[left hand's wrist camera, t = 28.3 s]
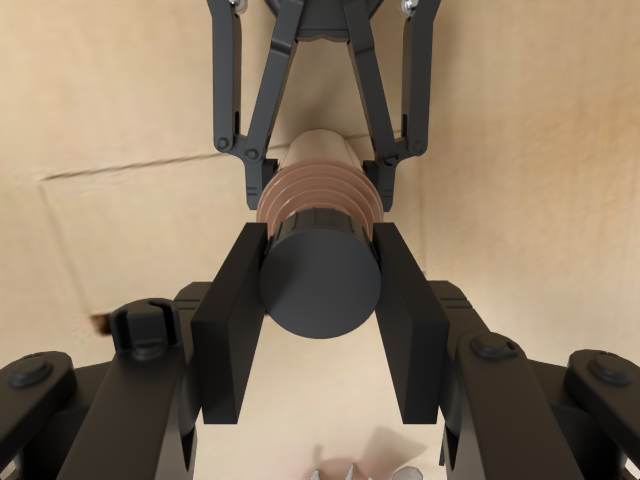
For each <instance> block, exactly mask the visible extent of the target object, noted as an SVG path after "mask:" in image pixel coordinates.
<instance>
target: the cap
mask: <svg viewBox="0 0 640 480" xmlns="http://www.w3.org/2000/svg"><path fill="white" fill-rule="evenodd" d="M263 256H264V259H263V262H262V265H261V268H260V272H259V284H260V298H261V301H262V304H263V306H264V308H265V309H266V311H267V312H268V314H269V315H270V317H271V318H272V319H273V320H274V321H275V322H276V323H277V324H279V325H280V326H281V327H283V328H284V329H286V330H287V331H289V332H291V333H293V334H296V335H299V336H302V337H306V338H313V339H327V338H334V337H338V336H341V335H344V334H347V333H349V332H351V331H353V330H354V329H356V328H358V327H359V326H360V325H362V324H363V323H364V322H365V321H366V320H367V319H368V318H369V317H370V315H371V314H372V313H373V311H374V310H375V308H376V306H377V304H378V302H379V299H380V288H381V271H380V268H379V265H378V262H379V259H378V256H377V253H376V250H375V247H374V245H373V242H372V241H370V239H369V237H368V235H367V233H366V230H365V227H364V226H363V227H362V226H361V225H360V224H359V223H358V222H357V221H356V220H354V219H353V218H352V216H351V215H350V214H349V215H347V214H345V213H343V212H340V211H337V210H334V208H332V209H329V208H315V207H313V208H311V209H306V210H303V211H300V212H297V211H296V212H295V214H293V215H292V216H290V217H288V218H287V219H286V220H284V221H283V222H282V221H281V222H280V224H279V226H278V228H277V229H276V230H275V232H274V233H273V235H272V236H271V235H270V237H269V240H268V243H267V246H266V249H265V252H264V255H263Z"/></svg>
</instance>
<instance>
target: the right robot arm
mask: <svg viewBox="0 0 640 480" xmlns="http://www.w3.org/2000/svg"><path fill="white" fill-rule="evenodd" d="M264 1H265V3H266V4H267V6H268V7H269V9H270V10H271V12H272V13H273V15H274V17H275V18H276V24H275V28H274V31H273V35H272V39H271V47H270V52H269V55H268V59H267V63H266V67H265V71H264V74H263V78H262V82H261V86H260V90H259V94H258V97H257V101H256V105H255V109H254V113H253V116H252V120H251V124H250V128H249V132H248V135H247V136H244V135H241V134H240V125H241V48H242V31H241V21H240V16H239V15H241V14H243V13H245V11H246V10H247V7H248V0H207V3H208V6H209V9H210V12H211V15H212V30H213V126H214V146H215V148H216V149H217V150H218V151H219V152H222V153H229V154H232V155H234V156H237V157H239V158H240V159H241V160H242V161H243V163H244V165H245V175H246V194H247V195H246V196H247V204H248V206H249V208H250V210H257V207H258V203H259V200H260V197H261V195H262V193H263V191H264V189H265V187H266V185H267V184H268V182H269V180H270V179H271V177H272V175H273V173H274V172H275V170H276V168H277V167H278V159H266V153H267V151H268V150H267V149H268V145H269V142H270V138H271V135H272V131H273V128H274V124H275V121H276V117H277V114H278V110H279V107H280V103H281V99H282V96H283V92H284V89H285V85H286V82H287V78H288V75H289V71H290V68H291V64H292V61H293V58H294V55H295V52H296V49H297V46H298V42H299V41H303V42H310V41H314V40H318V39H321V38H324V39H327V40H330V41H333V42H346V43H347V48H348V52H349V55H350V58H351V61H352V65H353V69H354V73H355V77H356V81H357V85H358V89H359V93H360V97H361V101H362V105H363V110H364V114H365V118H366V122H367V126H368V130H369V134H370V138H371V142H372V146H373V150H374V154H375V161H368V160H363V168H364V170H365V171H366V173H367V175H368V177H369V178H370V180H371V182H372V183H373V185H374V187H375V189H376V190H377V192H378V195H379V197H380V200H381V203H382V207H383V212H389V211H390V209H391V207H392V203H393V190H394V179H395V169H396V166H397V164H398V163H399V162H400V161H402V160H404V159H406V158H409V157H412V156H420V155H422V154H424V153H425V151H426V150H427V145H428V123H429V101H430V79H431V57H432V35H433V21H434V18H435V16H436V13H437V10H438V7H439V5H440V2H441V0H399V4H398V11H399V13H400V15H401V16H402V17H404V18H406V21H405V26H404V34H403V67H402V112H401V137H399V138H396V139H394V135H393V130H392V126H391V121H390V117H389V112H388V108H387V103H386V99H385V95H384V90H383V86H382V81H381V77H380V72H379V68H378V63H377V59H376V55H375V48H374V40H373V35H372V31H371V26H370V22H369V21H370V20H371V18H372V17H373V15H374V14H375V13H376V11H377V10H378V8H379V7H380V5H381V4H382V3H383V1H384V0H264Z"/></svg>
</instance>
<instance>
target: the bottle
mask: <svg viewBox="0 0 640 480" xmlns="http://www.w3.org/2000/svg"><path fill="white" fill-rule="evenodd" d="M313 207H315V208H329V209H332V208H334V210H337V211H340V212H343V213H345V214H347V215H349V214H350V215H351V216H352V218H353V219H354V220H356V221H357V222H358V223H359V224H360V225H361V226H362V227H363V226H364V227H365V230H366V233H367V235H368V237H369V239H370V241H372V230H373V223H384V213H383V207H382V203H381V200H380V197H379V195H378V192H377V190H376V189H375V187H374V185H373V183H372V182H371V180H370V178H369V177H368V175H367V173H366V171H365V170H364V168H363V166H362V165H361V163H360V161H359V159H358V158H357V156H356V154H355V153H354V151H353V149H352V147H351V146H350V144H349V143H348V142H347V141H346V139H344V138H343V137H342V136H341V135H339V134H338V133H336V132H334V131H331V130H327V129H313V130H309V131H307V132H304V133H302V134H301V135H299V136H298V137H297V138H296V139H295V140H294V141H293V142H292V143H291V144H290V146H289V148H288V149H287V151H286V153H285V155H284V156H283V158H282V160H281V161H280V163H279V165H278V167H277V168H276V170H275V172H274V173H273V175H272V177H271V179H270V180H269V182H268V184H267V185H266V187H265V189H264V191H263V193H262V195H261V197H260V200H259V203H258V207H257V215H256V219H257V223H267V225H268V240H269V237H270V235H271V236H272V235H273V233H274V232H275V230H276V229H277V228H278V226H279V224H280V222H281V221H282V222H283V221H284V220H286V219H287V218H288V217H290V216H292V215H293V214H295V212H296V211H297V212H300V211H303V210H306V209H311V208H313Z"/></svg>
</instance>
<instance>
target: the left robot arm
mask: <svg viewBox="0 0 640 480" xmlns="http://www.w3.org/2000/svg"><path fill="white" fill-rule="evenodd" d="M372 242H373V245H374V247H375V250H376V253H377V256H378V259H379V262H378V265H379V268H380V271H381V288H380V299H379V302H378V304H377V306H376V308H375V313H376V317H377V321H378V325H379V329H380V333H381V337H382V341H383V345H384V349H385V353H386V357H387V361H388V365H389V369H390V373H391V377H392V381H393V385H394V389H395V393H396V397H397V401H398V405H399V409H400V413H401V417H402V421H403V424H436V423H437V415H438V408H439V406H440V409H441V411H442V414H443V417H444V419H445V426H444V433H443V440H442V447H441V454H440V461H439V465H440V466H444V464H446V472H447V480H638V479H636V478H635V477H634V476H633V475H632V474H631V473H630V472H629V471H628V470H627V469H626V467H625V464H626V461H627V459H628V458H629V459H630V460H631V461H632V462H633V463H634V464H635V466H636V467H637V468H638V469H639V470H640V367H638V366H637V365H635V364H634V363H632V362H631V361H629V360H626V359H624V358H622V357H620V356H618V355H616V354H613V353H610V352H608V353H607V352H606V351H601V350H589V349H584V350H579V351H575V352H574V353H573V354H571V355H570V357H569V361H568V364H567V367H563V366H558V365H553V364H548V363H543V362H538V361H534V360H530V359H527V357H526V355H525V353H524V351H523V350H522V349H521V347H520V346H519V345H518V344H517V343H515V342H514V341H512V340H511V339H509V338H508V337H505V336H503V335H500V334H498V333H494V332H490V330H489V329H488V327H487V326H486V325H485V323H484V322H483V320H482V319H481V318H480V316H479V315H478V313H477V312H476V311H475V309H473V306H472V305H471V304H470V302H469V301H468V300H467V298H466V297H465V295H464V294H463V292H462V291H461V290H460V289H459V288H458V287H456V286H455V285H453V284H452V283H450V282H448V281H427V280H426V278H425V277H424V275H423V273H422V271H421V270H420V268H419V266H418V264H417V263H416V261H415V259H414V257H413V255H412V254H411V252H410V250H409V248H408V247H407V245H406V243H405V241H404V240H403V238H402V236H401V234H400V233H399V231H398V229H397V227H396V226H395V224H394V223H373V230H372ZM267 243H268V225H267V223H246V224H245V226H244V228H243V230H242V231H241V233H240V235H239V237H238V238H237V240H236V242H235V244H234V245H233V247H232V249H231V251H230V252H229V254H228V256H227V258H226V259H225V261H224V263H223V265H222V266H221V268H220V270H219V272H218V274H217V275H216V277H215V279H214V281H213V282H192V283H191V284H189V285H188V286H186V287H185V288H183V289H181V290H180V292H179V293H178V294H177V296H176V297H175V299H174V301H172V300H169V299H164V298H148V299H142V300H137V301H134V302H131V303H128V304H125V305H124V306H122V307H120V308H118V309H117V310H115V311H114V312H113V313H112V314H111V315H110V316H109V317H108V319H109V323H110V328H111V332H112V337H113V341H114V346H115V351H116V353H115V355H114V358H113V360H112V361H109V362H105V363H101V364H96V365H91V366H86V367H81V368H76V369H74V367H73V363H72V360H71V357H70V356H68V355H67V354H66V353H63V352H58V351H49V352H39V353H34V354H30V355H27V356H24V357H23V358H21V359H19V360H16V361H14V362H12V363H10V364H8V365H7V366H5V367H4V368H2V369H1V370H0V473H1V472H2V471H3V470H4V469H5V468H6V467H7V466H8V464H9V463H10V462H11V461H12V460H14V463H15V466H16V469H15V470H14V471H13V472H12V473H11V475H10V476H9V477H7V478H6V479H5V480H193V473H194V465H195V456H196V448H197V433H196V426H195V422H196V419H197V417H198V414H199V411H200V409H201V406H202V413H203V421H204V424H237V422H238V418H239V414H240V410H241V406H242V402H243V398H244V394H245V390H246V386H247V382H248V378H249V374H250V370H251V366H252V362H253V358H254V354H255V350H256V346H257V342H258V338H259V334H260V330H261V326H262V322H263V318H264V314H265V310H266V309H265V308H264V306H263V304H262V301H261V298H260V284H259V272H260V268H261V265H262V262H263V259H264V256H263V255H264V252H265V249H266V246H267ZM0 480H1V479H0ZM639 480H640V479H639Z"/></svg>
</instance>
